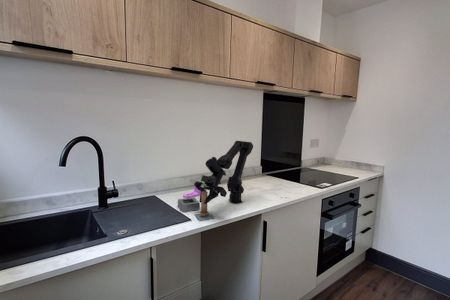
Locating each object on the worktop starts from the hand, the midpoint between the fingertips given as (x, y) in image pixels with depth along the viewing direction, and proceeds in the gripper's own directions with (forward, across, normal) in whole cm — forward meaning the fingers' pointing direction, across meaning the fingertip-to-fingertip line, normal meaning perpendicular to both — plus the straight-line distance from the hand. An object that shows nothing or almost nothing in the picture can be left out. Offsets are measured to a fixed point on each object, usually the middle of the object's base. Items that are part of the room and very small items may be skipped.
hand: (202, 202), depth 124 cm
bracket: (-10, -28, +22) cm, 37 cm away
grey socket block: (+2, -15, +10) cm, 18 cm away
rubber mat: (+5, 0, +7) cm, 8 cm away
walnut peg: (+4, 0, +6) cm, 7 cm away
